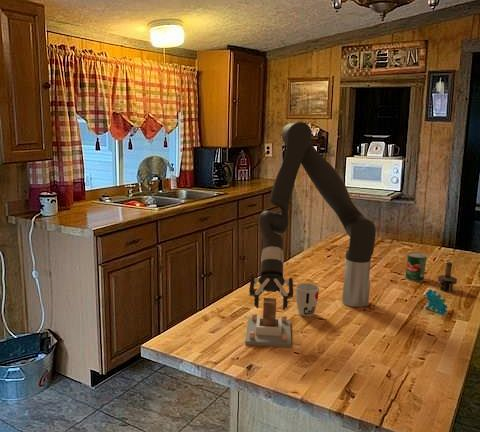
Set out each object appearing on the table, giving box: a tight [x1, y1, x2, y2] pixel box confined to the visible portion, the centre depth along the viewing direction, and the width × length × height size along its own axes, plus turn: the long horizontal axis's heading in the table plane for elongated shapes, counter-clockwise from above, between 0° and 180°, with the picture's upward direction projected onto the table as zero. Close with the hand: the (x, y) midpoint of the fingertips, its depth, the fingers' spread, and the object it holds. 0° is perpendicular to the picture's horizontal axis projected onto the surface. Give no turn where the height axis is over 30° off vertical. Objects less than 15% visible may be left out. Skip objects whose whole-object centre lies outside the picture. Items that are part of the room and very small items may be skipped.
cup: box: [295, 282, 320, 317], centre depth 176 cm, size 8×8×10 cm
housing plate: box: [244, 313, 292, 348], centre depth 160 cm, size 14×18×4 cm
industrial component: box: [437, 261, 458, 293], centre depth 205 cm, size 9×7×12 cm
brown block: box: [262, 297, 277, 327], centre depth 159 cm, size 4×4×10 cm
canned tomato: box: [404, 251, 427, 283], centre depth 218 cm, size 8×8×11 cm
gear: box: [424, 289, 448, 316], centre depth 184 cm, size 11×6×10 cm
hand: (270, 308), depth 159 cm, fingers open, 8 cm apart
